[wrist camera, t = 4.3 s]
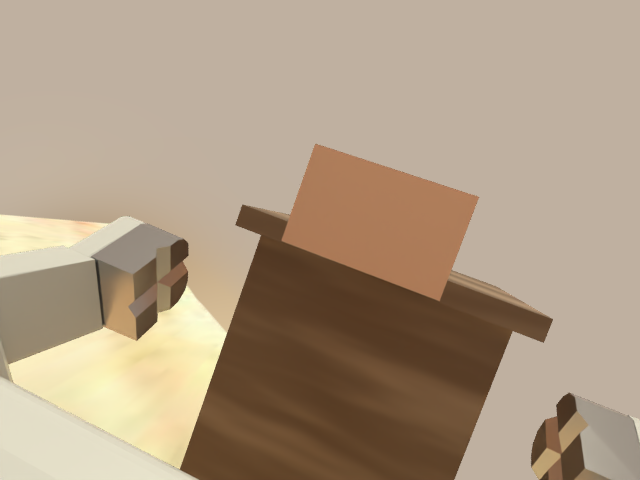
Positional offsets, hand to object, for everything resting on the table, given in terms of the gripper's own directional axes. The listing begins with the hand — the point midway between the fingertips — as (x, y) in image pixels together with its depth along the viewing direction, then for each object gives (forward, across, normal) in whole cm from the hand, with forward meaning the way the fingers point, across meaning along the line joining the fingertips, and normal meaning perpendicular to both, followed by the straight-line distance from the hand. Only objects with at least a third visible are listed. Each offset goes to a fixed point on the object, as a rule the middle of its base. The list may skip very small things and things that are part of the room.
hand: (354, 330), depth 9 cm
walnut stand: (+2, 0, -30) cm, 30 cm away
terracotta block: (+12, 0, -6) cm, 13 cm away
